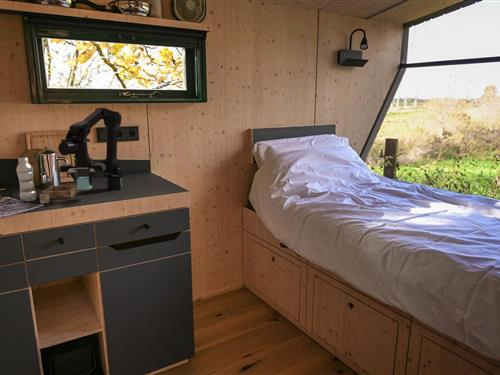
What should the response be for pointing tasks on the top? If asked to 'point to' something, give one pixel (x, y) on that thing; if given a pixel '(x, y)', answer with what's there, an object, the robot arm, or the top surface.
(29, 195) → the plastic bottle
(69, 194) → the serving box
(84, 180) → the teal block
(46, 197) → the birch cube
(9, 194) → the top surface
